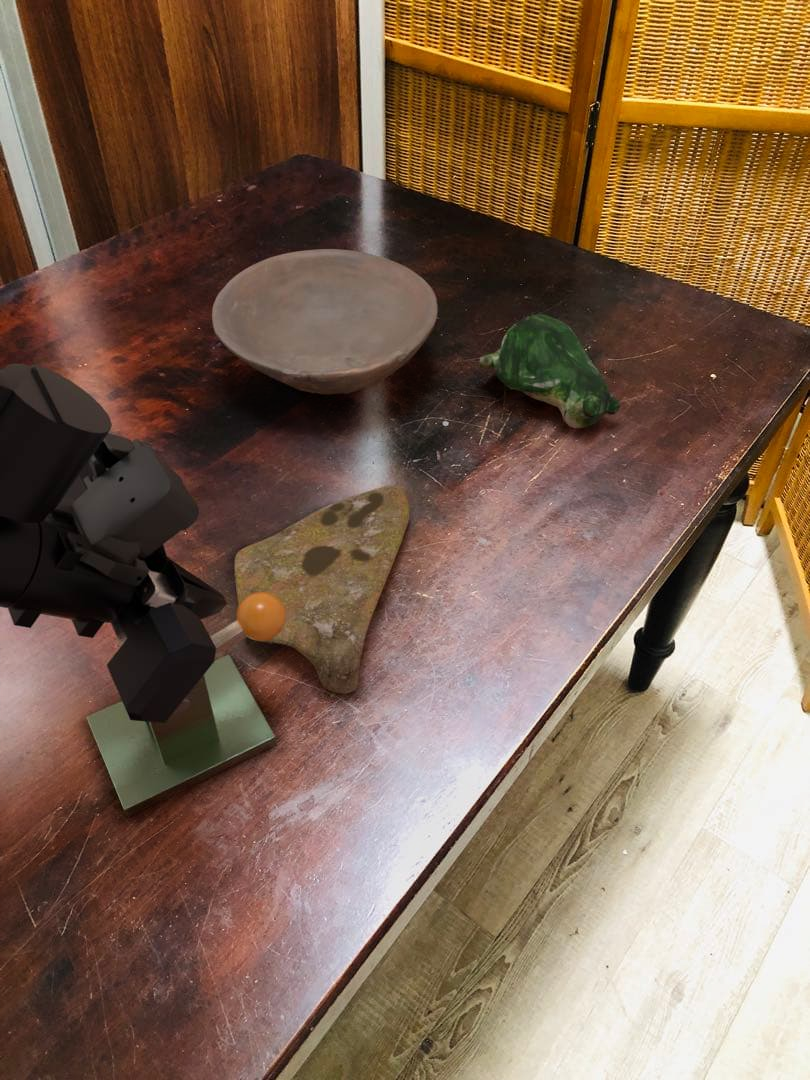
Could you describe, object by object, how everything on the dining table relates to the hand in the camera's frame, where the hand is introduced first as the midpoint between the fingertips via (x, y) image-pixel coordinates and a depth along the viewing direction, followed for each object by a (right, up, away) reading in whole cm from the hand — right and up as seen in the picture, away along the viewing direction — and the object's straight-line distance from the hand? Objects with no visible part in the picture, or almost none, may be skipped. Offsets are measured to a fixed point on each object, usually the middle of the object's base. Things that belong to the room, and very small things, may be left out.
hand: (221, 604), depth 61 cm
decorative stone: (+4, +1, +20) cm, 20 cm away
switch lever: (-1, -4, +4) cm, 6 cm away
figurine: (+29, +20, +38) cm, 52 cm away
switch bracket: (-5, -11, +8) cm, 14 cm away
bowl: (+4, +25, +42) cm, 49 cm away
